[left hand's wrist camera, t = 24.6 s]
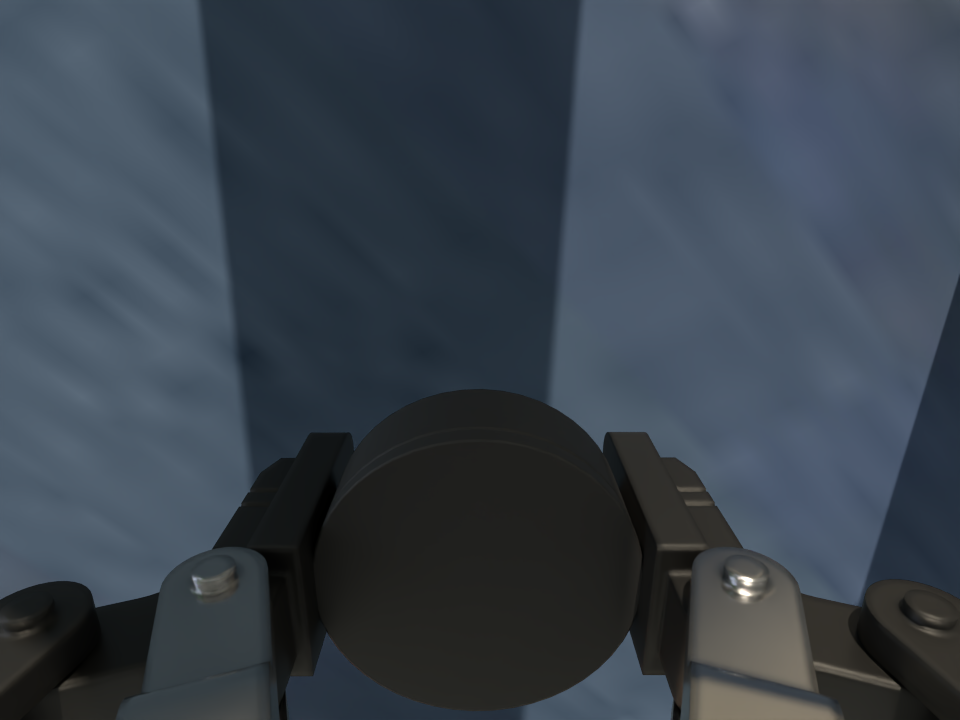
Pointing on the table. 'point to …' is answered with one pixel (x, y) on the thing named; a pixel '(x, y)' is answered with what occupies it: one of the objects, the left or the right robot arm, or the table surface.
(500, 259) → the table surface
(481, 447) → the lid
